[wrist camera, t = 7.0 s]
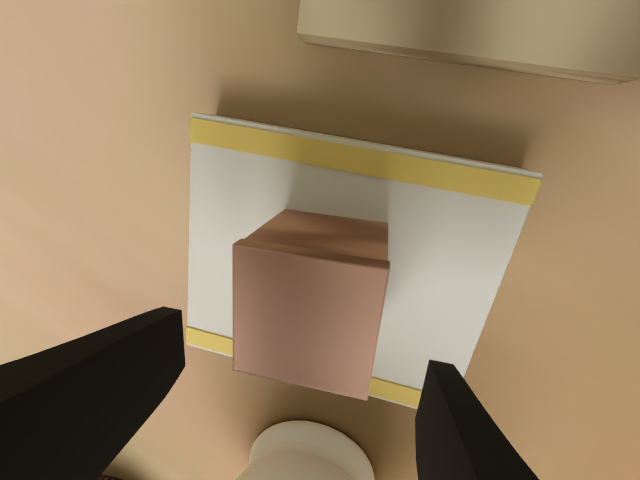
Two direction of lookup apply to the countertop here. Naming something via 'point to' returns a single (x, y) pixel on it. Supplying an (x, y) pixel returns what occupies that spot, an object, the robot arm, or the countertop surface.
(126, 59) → the countertop surface
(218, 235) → the dock
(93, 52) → the countertop surface
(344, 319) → the brown cube
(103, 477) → the cupcake
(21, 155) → the countertop surface
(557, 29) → the beige rectangular slab
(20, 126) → the countertop surface
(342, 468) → the jar
